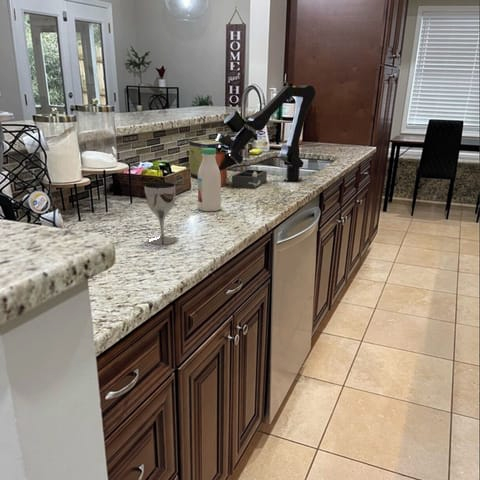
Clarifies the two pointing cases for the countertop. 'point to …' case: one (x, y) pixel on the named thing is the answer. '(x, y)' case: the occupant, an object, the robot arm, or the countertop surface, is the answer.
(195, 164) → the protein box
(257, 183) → the pacifier
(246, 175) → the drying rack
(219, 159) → the tumbler
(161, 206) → the wine glass
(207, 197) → the milk bottle
